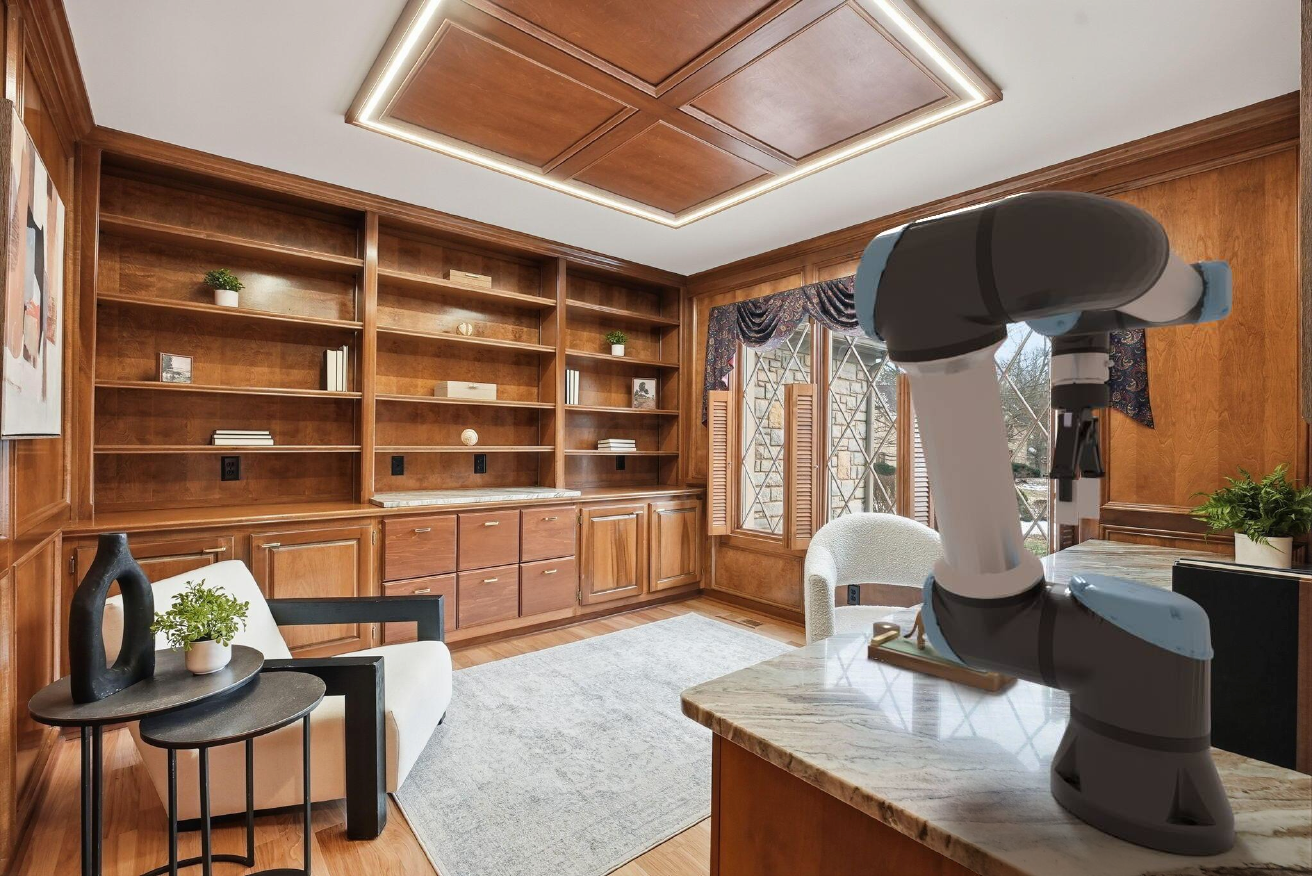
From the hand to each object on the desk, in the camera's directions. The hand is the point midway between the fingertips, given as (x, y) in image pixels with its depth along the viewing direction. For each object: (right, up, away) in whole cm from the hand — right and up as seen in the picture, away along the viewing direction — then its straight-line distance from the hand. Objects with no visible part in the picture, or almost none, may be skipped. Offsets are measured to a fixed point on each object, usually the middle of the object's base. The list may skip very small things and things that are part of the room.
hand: (1078, 521), depth 96 cm
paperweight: (-20, -27, +26) cm, 42 cm away
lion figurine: (-15, -25, +12) cm, 31 cm away
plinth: (-16, -27, +11) cm, 33 cm away
